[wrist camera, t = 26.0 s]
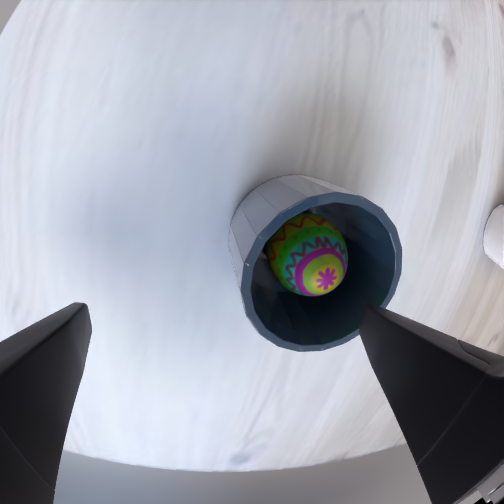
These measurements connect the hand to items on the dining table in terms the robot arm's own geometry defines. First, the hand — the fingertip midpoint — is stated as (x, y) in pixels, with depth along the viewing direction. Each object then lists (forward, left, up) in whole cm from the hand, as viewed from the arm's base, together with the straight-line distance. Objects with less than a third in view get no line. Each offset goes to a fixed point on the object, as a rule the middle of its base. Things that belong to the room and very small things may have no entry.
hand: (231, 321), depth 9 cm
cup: (+4, +4, -12) cm, 13 cm away
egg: (+4, +4, -12) cm, 13 cm away
